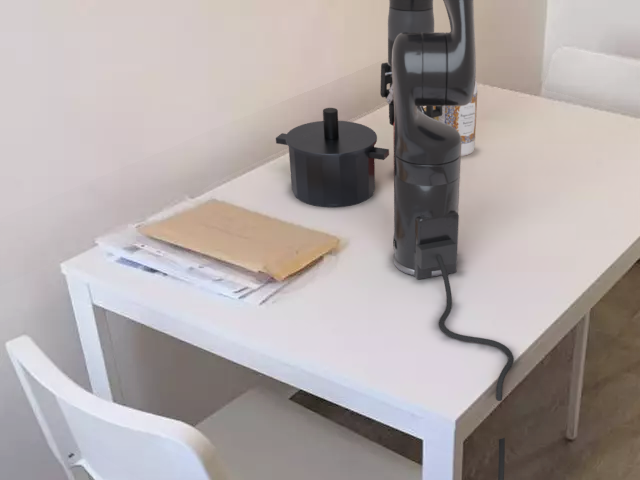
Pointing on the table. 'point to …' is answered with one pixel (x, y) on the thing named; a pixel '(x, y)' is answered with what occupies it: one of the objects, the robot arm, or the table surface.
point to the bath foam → (463, 122)
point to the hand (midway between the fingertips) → (410, 131)
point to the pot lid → (331, 137)
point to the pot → (333, 176)
